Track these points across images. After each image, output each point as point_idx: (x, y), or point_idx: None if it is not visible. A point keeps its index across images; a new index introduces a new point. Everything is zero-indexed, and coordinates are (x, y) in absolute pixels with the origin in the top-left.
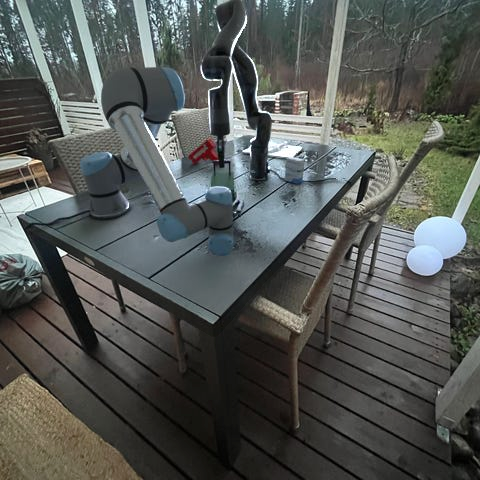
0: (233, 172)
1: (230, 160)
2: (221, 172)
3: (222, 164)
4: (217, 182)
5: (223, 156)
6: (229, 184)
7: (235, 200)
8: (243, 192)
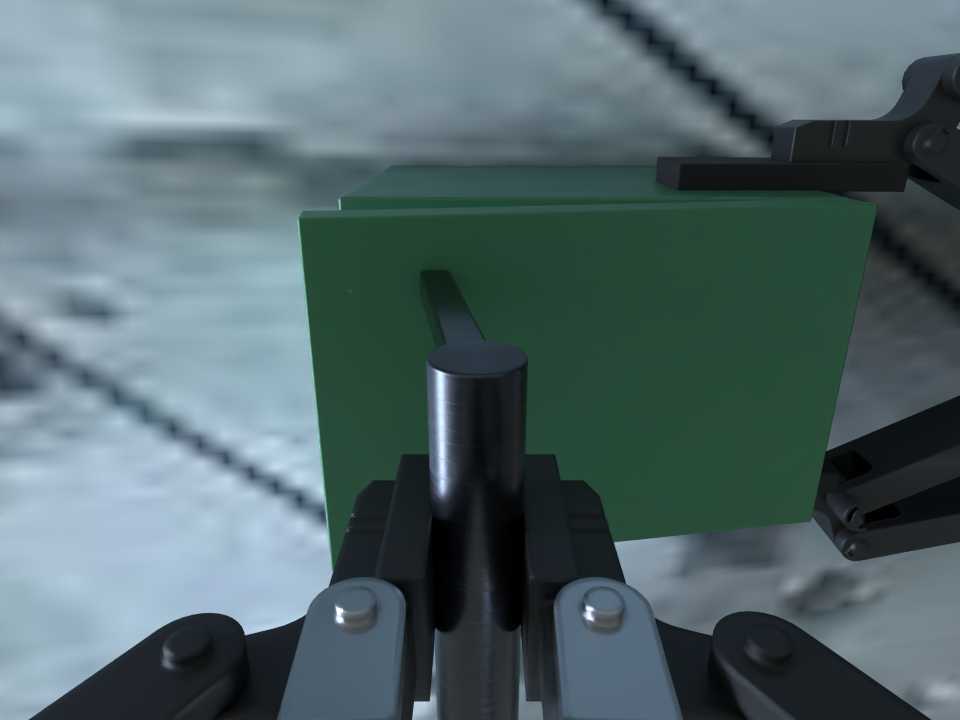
0: (326, 217)
1: (507, 375)
2: (338, 428)
3: (600, 530)
4: (643, 456)
5: (860, 692)
6: (725, 281)
7: (947, 178)
8: (121, 37)
